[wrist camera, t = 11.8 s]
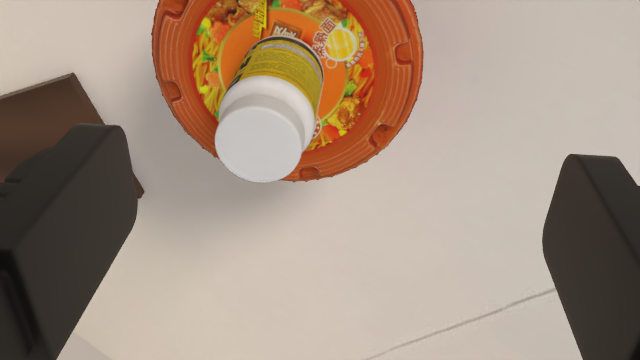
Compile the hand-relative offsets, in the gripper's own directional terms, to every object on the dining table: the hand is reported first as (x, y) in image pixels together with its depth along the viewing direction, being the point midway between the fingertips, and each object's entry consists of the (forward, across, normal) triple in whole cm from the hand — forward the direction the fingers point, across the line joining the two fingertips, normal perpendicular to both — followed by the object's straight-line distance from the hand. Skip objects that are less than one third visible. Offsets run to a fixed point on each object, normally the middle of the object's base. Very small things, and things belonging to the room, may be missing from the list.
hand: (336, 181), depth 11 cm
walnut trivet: (+32, +26, +20) cm, 46 cm away
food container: (+32, +4, +7) cm, 33 cm away
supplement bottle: (+22, +4, +7) cm, 23 cm away
